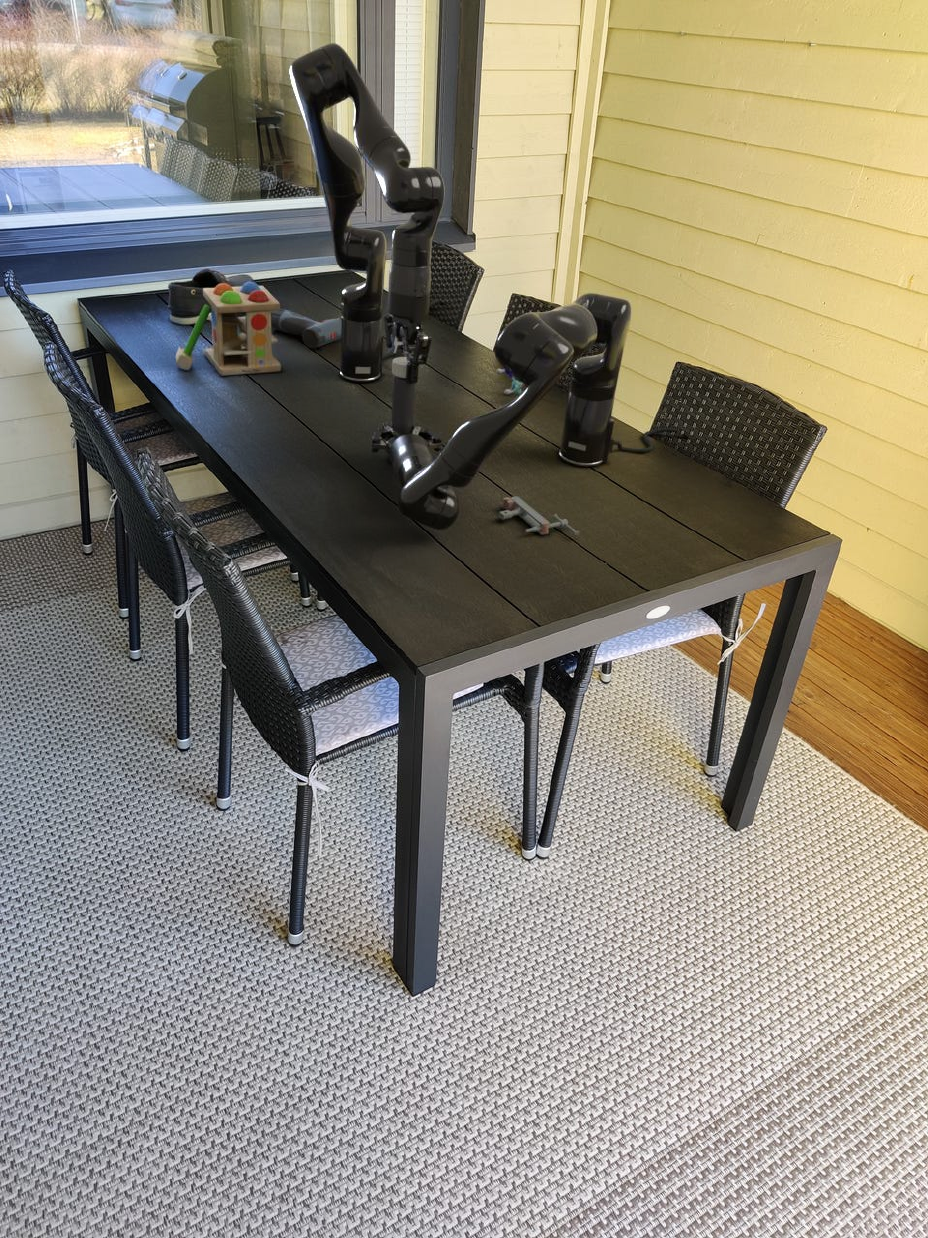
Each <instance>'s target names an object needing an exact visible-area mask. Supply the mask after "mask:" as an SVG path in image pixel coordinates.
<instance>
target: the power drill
mask: <svg viewBox="0 0 928 1238" xmlns="http://www.w3.org/2000/svg"><path fill="white" fill-rule="evenodd" d="M271 328H274V329H276V330H278V331H281V332H284V333H288V334H290V335H296V336H300V337H302V341H303V343H304V344H305V346H306V347H308V348H309V349H316V348H319V347H322V346H325V345H328V344H330V343H333V342H336V341H338V340H341V317H338V318H331V319H324V320H322V321H320V322H319V321H316V320H314V319H312V318H309V317H306V316H304V315H302V314H300V313H297V312H293V311H291V310H288V309H283V308H280V310H271Z"/></svg>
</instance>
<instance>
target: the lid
mask: <svg viewBox="0 0 928 1238" xmlns="http://www.w3.org/2000/svg"><path fill="white" fill-rule="evenodd" d="M392 362H393V363H392ZM392 362H391V373H392V375H393V376H394V375H395V376H397V377H401V378H406V366H407V358H406V356H405V357H397V358H394V359H393V358H392Z"/></svg>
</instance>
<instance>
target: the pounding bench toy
mask: <svg viewBox="0 0 928 1238" xmlns="http://www.w3.org/2000/svg"><path fill="white" fill-rule="evenodd" d="M203 296H204V297H205V299H206V300H207V301H208V302H209V304H210V305H211V307H210V306H208V305H204V307H203V309H202V311H201V314H200V316H199V318H198V320H197V322H196V323H194V327H193V329H192V331H191V332H190V333H191V334H190V336H189V338H188V340H187V343H186V344H185V347H184V348H182V347H180V346H179V347H178V349H177V351H176V354H175V357H174V358H175V362H176V365H177V366H178V368H179V369H182V370H185V371H189V370H190V369H191V367H192V365H193V363H194V356H193V351H194V348H195V347H196V345H197V342H198V340H199V337H200V336H201V333H202V332H203V329H204V326H205V325H206V322H207V321H210V322H211V336H212V337H211V338H212V339H211V340H212V348H205V349H204V352H205V353H204V355H205V357H206V359H208V361H209V363H210V364H211V365H212V366H213V367H214V369H215V370H216V371H217V372H218V374H219V375H220V376H222V377H223V376H234V375H235V376H236V375H246V374H247V375H250V374H262V373H275V372H281V370H282V364H281V363H280V362H279V360H278V359H277V358H276V357H275V356H274V355H273V348H272V347H273V345H272V344H276V343H278V342H279V341H278V339H277V338H276V337H275V336H274V334H272V327H271V310H280V309H281V304H280V301H278V300H277V299H276V297H274V296H273V295H272V294H271V293H270V292H269V290H268V289H267V288H266V287H264V285H259V284H257V283H256V282H255V283H254V282H247V283H245V284H244V285H243V286H242V287H231V286H230V285H228V284H226V283H221V284H218V285H217V286H216V287H215V288H204V289H203ZM210 310H211V314H209V312H210ZM238 313H244V314H245V315H244V316H238ZM207 318H209V320H207ZM238 329H239V331H240V333H239V334H238Z"/></svg>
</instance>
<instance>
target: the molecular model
mask: <svg viewBox="0 0 928 1238" xmlns="http://www.w3.org/2000/svg"><path fill="white" fill-rule="evenodd" d="M496 373H497V374H498V375H501V374H502V373H506V374H507V375H509V376H510V379H511V381H512V382H511V387H510V388H507V389H505V390H504V394H505V396H506V395H507V396H508V395H511V394H513V393H514V395H516V396H518V395H519V394H520V393H521V392H522V391H523V390H522V389H523V388H524V387H525V385H524V384H523V383H522V382H521V381H519V380H518V379H517V380H516V379H515V376H513V375H512V374H511V373H510V372H509V371H507V370H506V369H505V368H503V369H502V368H496Z"/></svg>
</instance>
